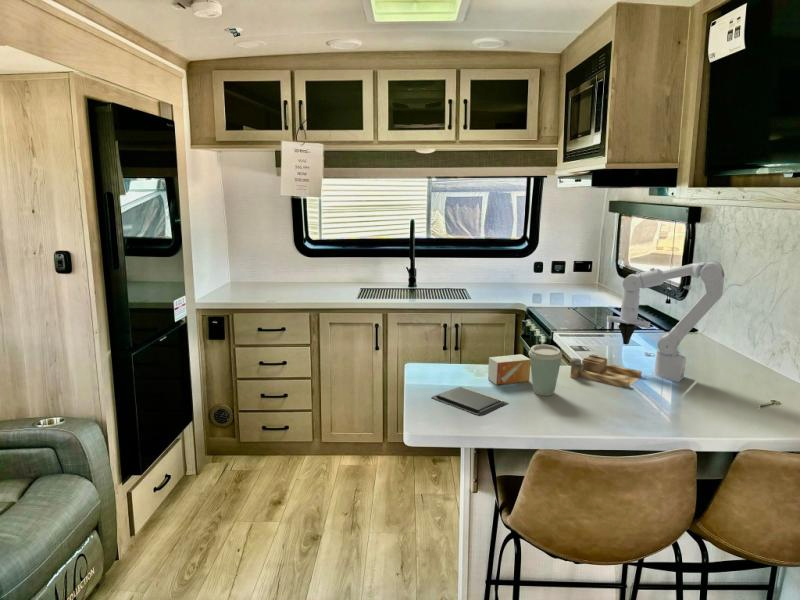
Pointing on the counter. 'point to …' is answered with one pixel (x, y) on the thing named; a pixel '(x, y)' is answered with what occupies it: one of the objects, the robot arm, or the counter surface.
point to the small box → (509, 369)
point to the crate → (595, 364)
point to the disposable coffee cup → (544, 368)
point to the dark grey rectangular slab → (470, 401)
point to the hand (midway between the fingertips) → (626, 343)
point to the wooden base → (606, 374)
